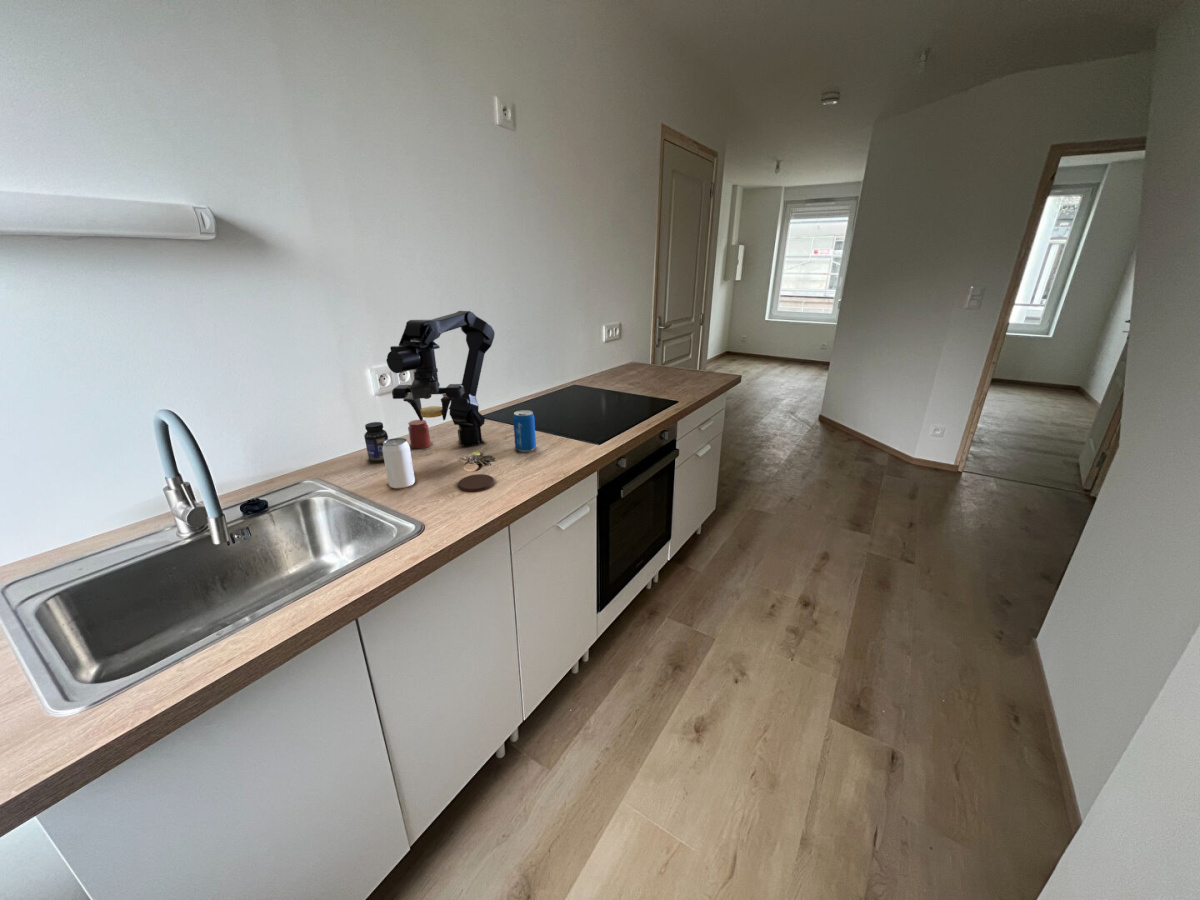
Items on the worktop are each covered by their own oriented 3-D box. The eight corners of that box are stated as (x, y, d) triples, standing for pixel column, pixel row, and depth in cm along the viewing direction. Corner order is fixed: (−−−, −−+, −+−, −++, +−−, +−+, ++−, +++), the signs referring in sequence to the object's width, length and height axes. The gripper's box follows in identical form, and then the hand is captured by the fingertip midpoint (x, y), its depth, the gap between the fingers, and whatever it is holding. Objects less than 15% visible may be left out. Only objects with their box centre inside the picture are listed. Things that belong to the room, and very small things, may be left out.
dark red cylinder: (428, 440, 150) (425, 418, 147) (432, 446, 145) (429, 423, 142) (409, 444, 147) (405, 421, 144) (413, 450, 142) (409, 426, 140)
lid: (422, 418, 127) (421, 413, 126) (419, 413, 132) (418, 407, 132) (445, 415, 130) (445, 410, 129) (441, 410, 135) (441, 405, 135)
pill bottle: (382, 463, 132) (376, 428, 128) (364, 462, 133) (357, 426, 129) (395, 456, 138) (389, 421, 134) (378, 454, 139) (371, 420, 135)
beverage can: (511, 451, 141) (508, 414, 137) (522, 444, 147) (519, 408, 142) (529, 454, 139) (527, 416, 135) (539, 447, 145) (537, 411, 140)
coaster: (487, 474, 125) (487, 471, 125) (498, 486, 118) (498, 483, 118) (454, 481, 121) (454, 478, 120) (464, 494, 114) (463, 491, 113)
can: (389, 491, 115) (380, 447, 111) (389, 481, 121) (381, 439, 117) (416, 486, 118) (408, 443, 113) (414, 477, 123) (408, 435, 119)
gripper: (380, 373, 118) (390, 429, 123) (452, 371, 119) (459, 428, 125) (395, 365, 128) (403, 417, 134) (461, 364, 129) (467, 416, 135)
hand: (432, 420), depth 131 cm, fingers closed on lid, 6 cm apart
